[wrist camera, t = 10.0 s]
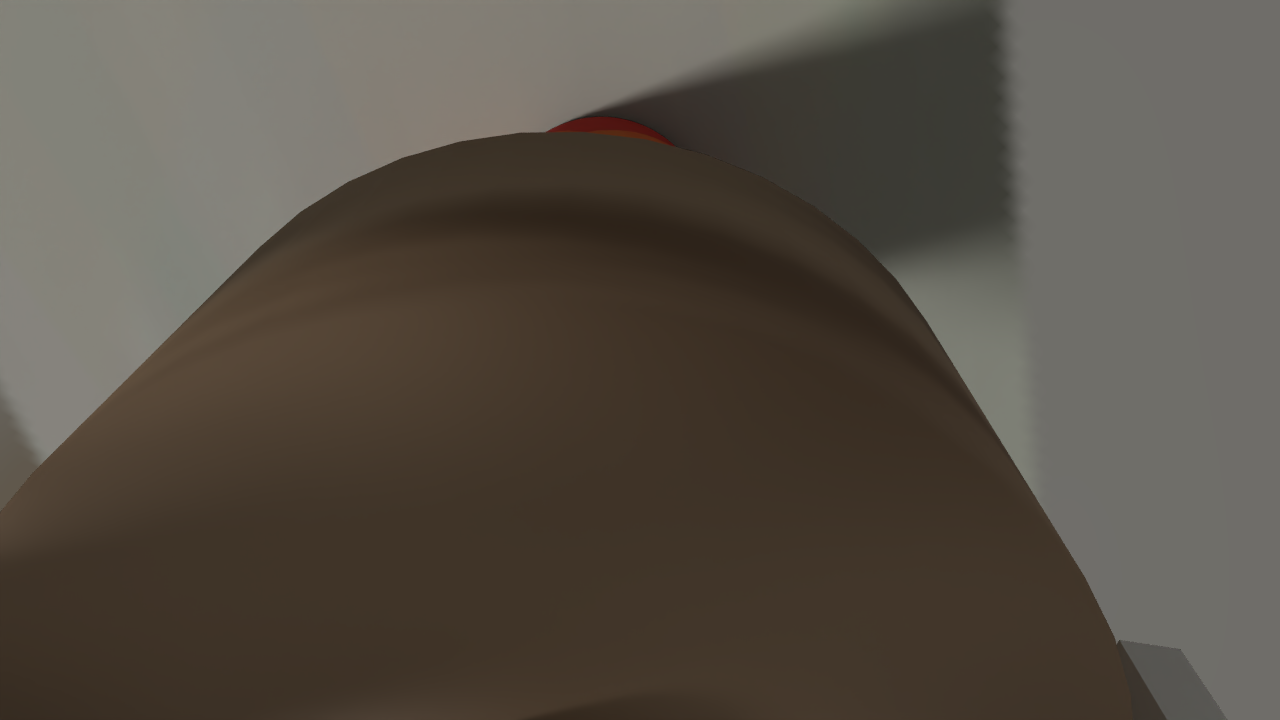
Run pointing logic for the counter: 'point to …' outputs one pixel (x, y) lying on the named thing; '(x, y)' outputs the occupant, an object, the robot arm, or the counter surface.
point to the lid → (547, 476)
